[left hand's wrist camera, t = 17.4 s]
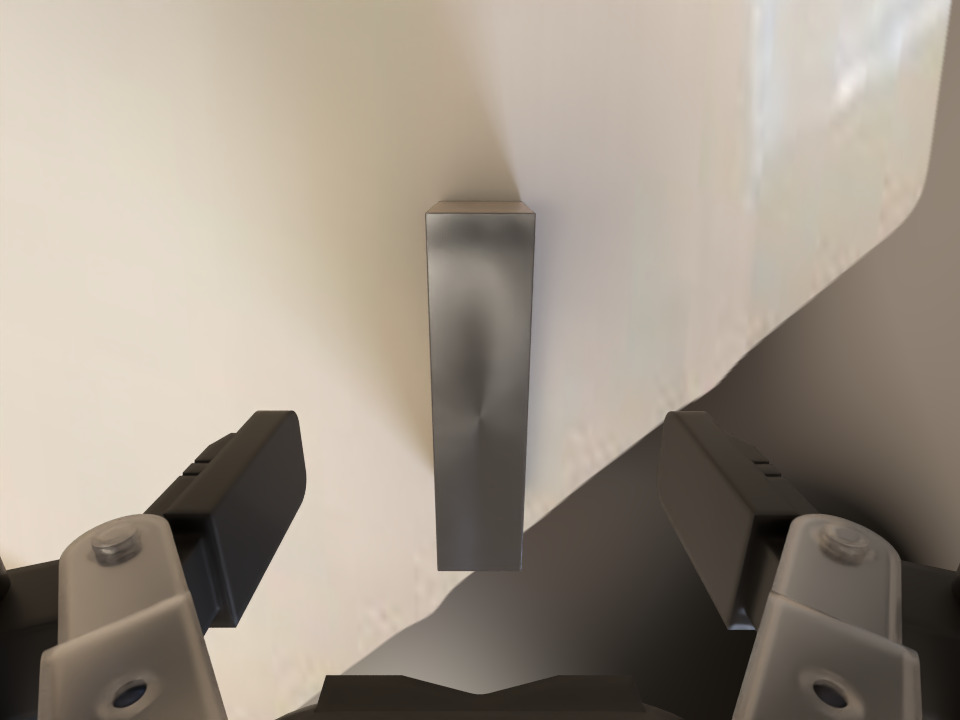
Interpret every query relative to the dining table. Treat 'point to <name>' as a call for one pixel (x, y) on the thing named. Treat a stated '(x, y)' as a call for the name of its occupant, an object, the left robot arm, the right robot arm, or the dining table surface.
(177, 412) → the dining table surface
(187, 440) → the dining table surface
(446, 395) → the bar
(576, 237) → the dining table surface
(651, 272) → the dining table surface
